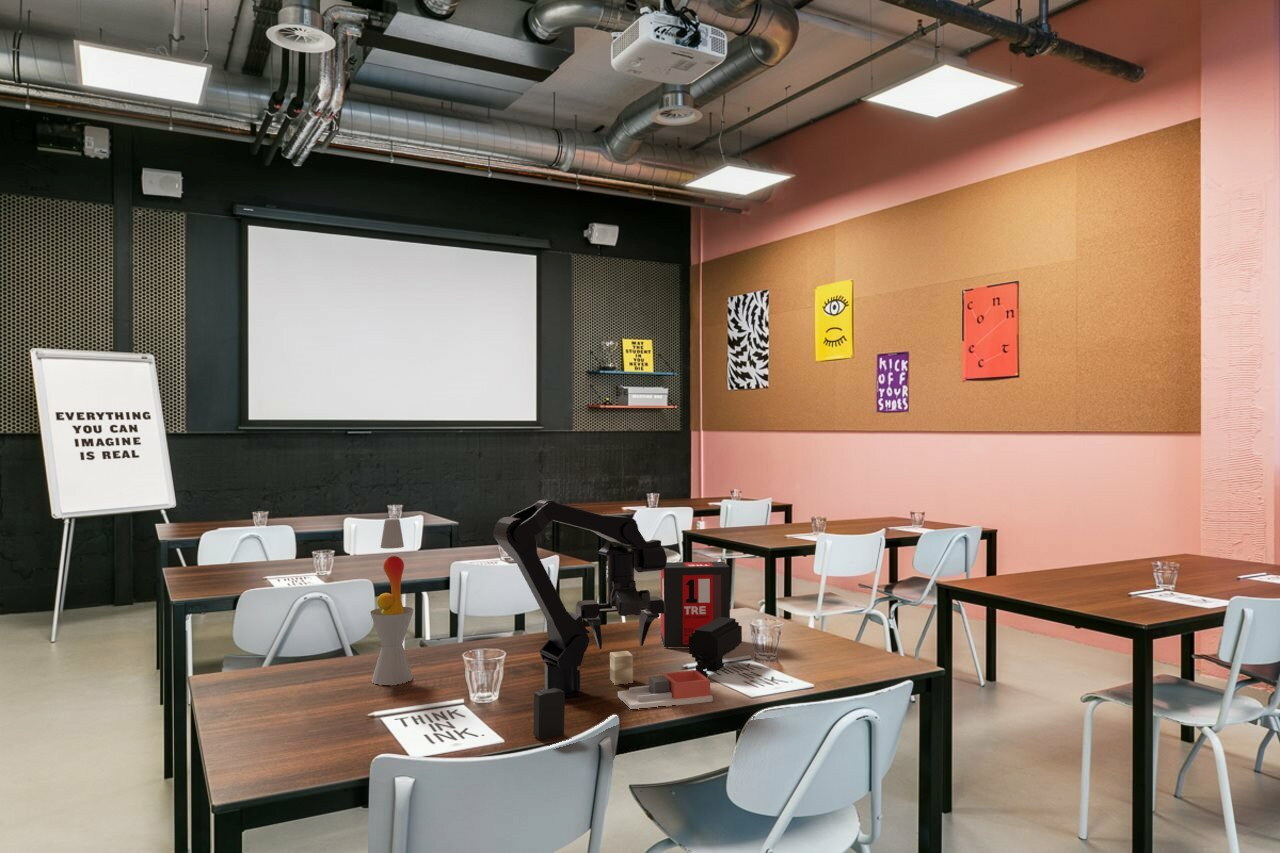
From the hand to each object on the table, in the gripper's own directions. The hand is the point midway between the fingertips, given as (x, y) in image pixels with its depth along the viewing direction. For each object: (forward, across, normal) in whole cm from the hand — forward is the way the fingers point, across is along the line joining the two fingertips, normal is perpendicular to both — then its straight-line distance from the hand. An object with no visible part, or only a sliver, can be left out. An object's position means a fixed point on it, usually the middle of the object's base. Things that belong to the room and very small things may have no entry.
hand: (620, 647), depth 177 cm
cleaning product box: (+8, +27, +26) cm, 38 cm away
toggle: (+6, +4, -14) cm, 16 cm away
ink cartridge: (+8, -21, -27) cm, 35 cm away
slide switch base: (+7, +5, -14) cm, 17 cm away
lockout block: (+7, 0, 0) cm, 7 cm away
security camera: (+8, +23, +2) cm, 24 cm away
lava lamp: (+8, -47, +17) cm, 51 cm away
